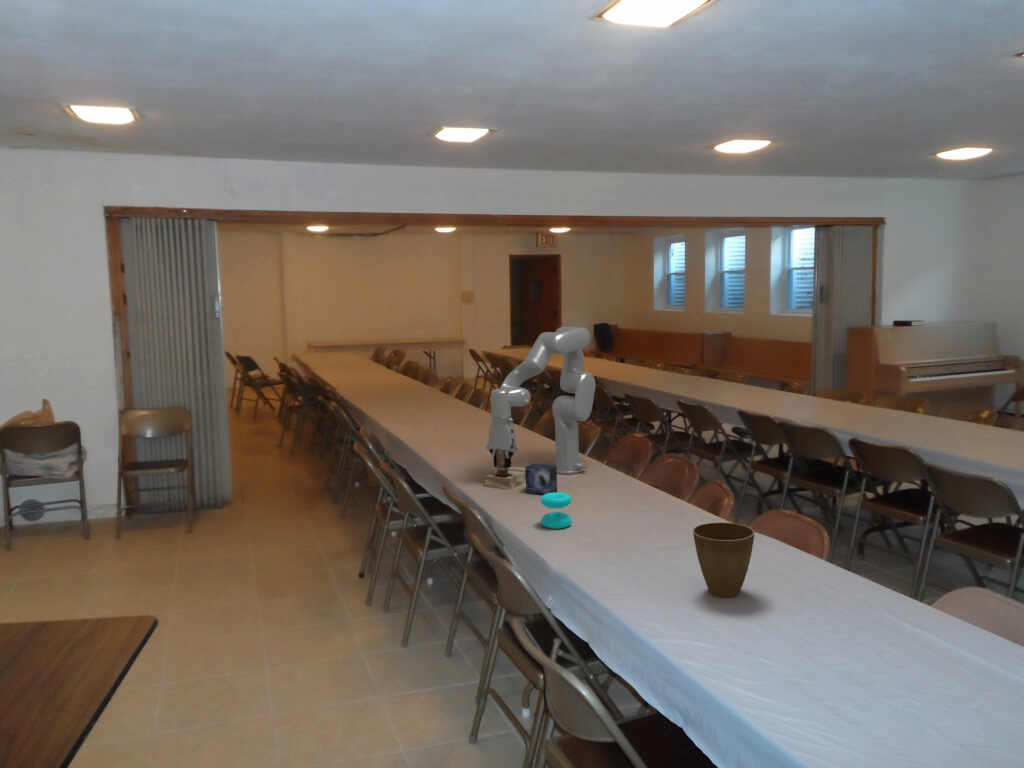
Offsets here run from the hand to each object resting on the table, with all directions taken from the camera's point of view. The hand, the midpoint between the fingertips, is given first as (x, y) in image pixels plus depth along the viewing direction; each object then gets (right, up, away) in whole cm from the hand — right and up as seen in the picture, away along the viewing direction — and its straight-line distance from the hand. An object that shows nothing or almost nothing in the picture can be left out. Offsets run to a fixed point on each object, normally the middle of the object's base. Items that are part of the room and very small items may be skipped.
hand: (502, 466), depth 314 cm
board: (+3, -7, +6) cm, 10 cm away
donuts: (+18, -14, -52) cm, 57 cm away
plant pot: (+57, -20, -111) cm, 127 cm away
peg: (0, -4, 0) cm, 5 cm away
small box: (+15, -9, -12) cm, 21 cm away
